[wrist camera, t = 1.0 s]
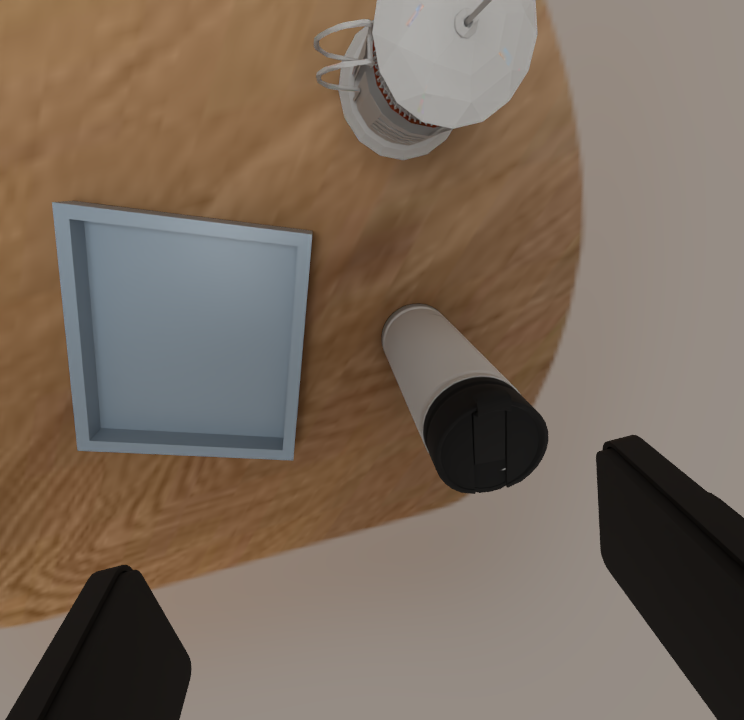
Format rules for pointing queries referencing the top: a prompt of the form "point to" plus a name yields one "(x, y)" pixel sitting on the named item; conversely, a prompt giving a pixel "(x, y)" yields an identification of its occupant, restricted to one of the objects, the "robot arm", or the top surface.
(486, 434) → the travel mug
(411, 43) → the french press
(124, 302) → the tray
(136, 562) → the top surface
